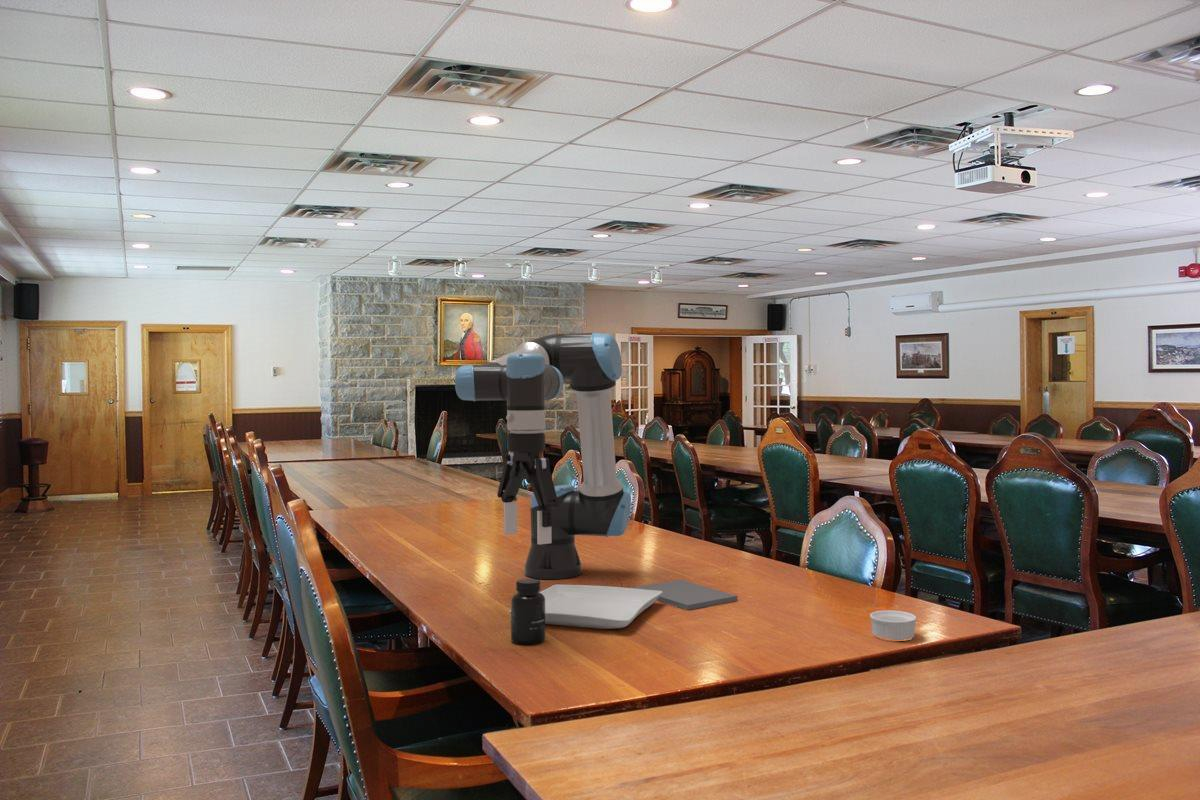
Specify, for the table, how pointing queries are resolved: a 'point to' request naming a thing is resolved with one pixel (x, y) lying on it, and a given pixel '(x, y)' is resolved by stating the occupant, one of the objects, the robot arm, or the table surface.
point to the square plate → (595, 605)
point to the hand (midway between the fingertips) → (527, 538)
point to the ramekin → (893, 624)
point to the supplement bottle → (528, 613)
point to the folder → (689, 594)
